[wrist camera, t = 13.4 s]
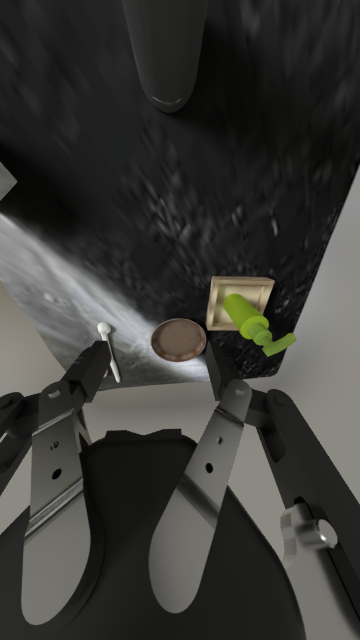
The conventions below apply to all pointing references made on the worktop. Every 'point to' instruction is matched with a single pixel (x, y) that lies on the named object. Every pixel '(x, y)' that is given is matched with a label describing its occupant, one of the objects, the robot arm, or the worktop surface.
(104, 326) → the white ball-headed stick
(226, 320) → the birch crate
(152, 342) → the plant saucer
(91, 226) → the worktop surface
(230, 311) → the soap dispenser
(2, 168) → the supplement box
